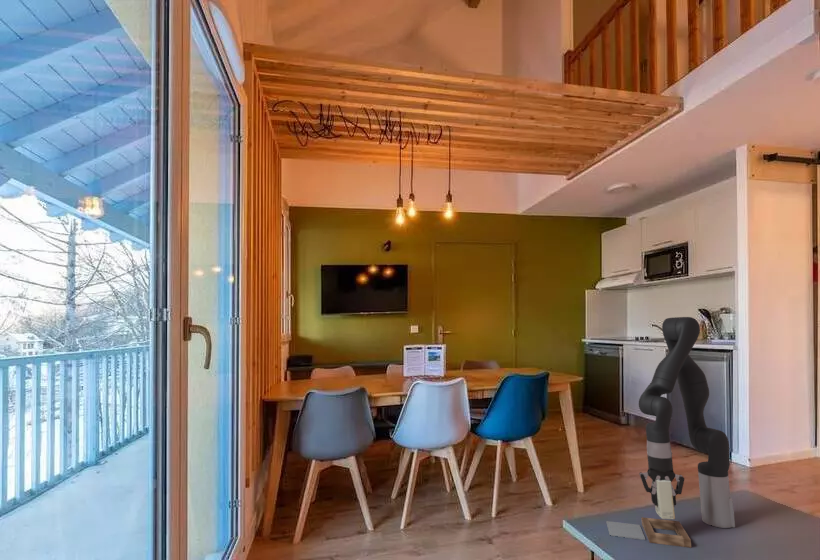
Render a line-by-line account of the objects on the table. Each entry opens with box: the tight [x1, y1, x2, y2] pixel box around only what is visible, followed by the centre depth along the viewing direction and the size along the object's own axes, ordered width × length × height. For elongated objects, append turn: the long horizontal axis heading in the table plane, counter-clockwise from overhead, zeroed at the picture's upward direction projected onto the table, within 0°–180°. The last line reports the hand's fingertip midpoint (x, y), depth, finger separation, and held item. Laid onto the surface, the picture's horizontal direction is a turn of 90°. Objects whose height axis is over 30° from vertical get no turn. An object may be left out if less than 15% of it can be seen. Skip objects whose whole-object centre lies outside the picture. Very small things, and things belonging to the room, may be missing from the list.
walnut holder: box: [640, 517, 692, 549], centre depth 151 cm, size 12×14×2 cm
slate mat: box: [605, 520, 646, 541], centre depth 154 cm, size 11×11×1 cm
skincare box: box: [654, 480, 676, 520], centre depth 152 cm, size 6×4×12 cm
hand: (663, 505), depth 151 cm, fingers closed on skincare box, 4 cm apart
